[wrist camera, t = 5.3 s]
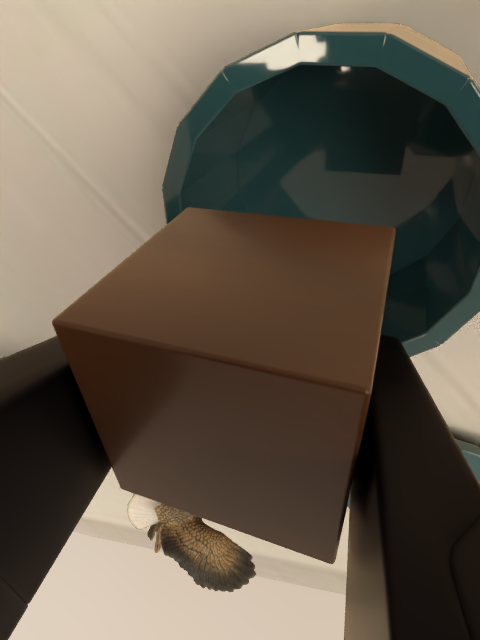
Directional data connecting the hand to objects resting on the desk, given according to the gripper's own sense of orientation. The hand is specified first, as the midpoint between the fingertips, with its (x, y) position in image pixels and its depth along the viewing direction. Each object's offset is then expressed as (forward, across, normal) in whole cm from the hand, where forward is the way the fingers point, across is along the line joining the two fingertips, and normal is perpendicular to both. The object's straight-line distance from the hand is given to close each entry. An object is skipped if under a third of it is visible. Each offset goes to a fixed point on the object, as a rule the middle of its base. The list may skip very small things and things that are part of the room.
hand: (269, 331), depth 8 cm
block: (+1, 0, 0) cm, 1 cm away
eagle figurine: (+10, +8, +25) cm, 28 cm away
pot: (+9, 0, 0) cm, 9 cm away
